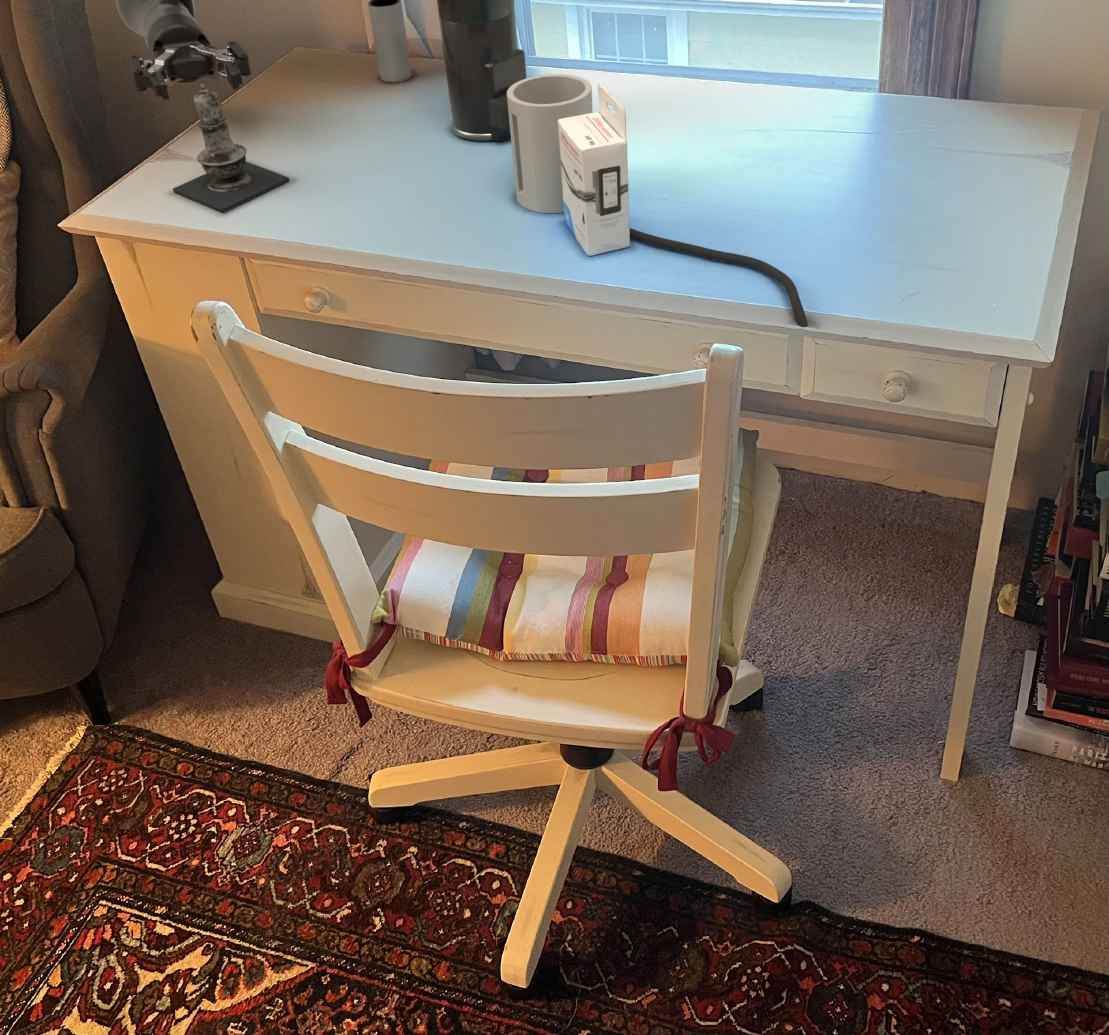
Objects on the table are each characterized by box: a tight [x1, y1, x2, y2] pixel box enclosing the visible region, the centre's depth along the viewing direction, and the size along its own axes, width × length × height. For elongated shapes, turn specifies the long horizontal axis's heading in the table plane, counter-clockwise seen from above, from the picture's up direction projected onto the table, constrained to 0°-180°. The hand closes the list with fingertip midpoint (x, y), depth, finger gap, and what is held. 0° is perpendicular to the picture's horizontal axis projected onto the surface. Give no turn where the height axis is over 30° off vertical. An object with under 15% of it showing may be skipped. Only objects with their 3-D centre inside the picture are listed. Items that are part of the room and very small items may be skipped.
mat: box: [172, 161, 290, 214], centre depth 132 cm, size 10×10×1 cm
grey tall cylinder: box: [367, 0, 413, 83], centre depth 153 cm, size 4×4×10 cm
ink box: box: [558, 82, 631, 257], centre depth 112 cm, size 8×5×15 cm, turn 18°
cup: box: [507, 73, 594, 214], centre depth 121 cm, size 9×9×12 cm
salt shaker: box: [193, 82, 252, 192], centre depth 128 cm, size 6×6×12 cm
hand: (200, 86), depth 133 cm, fingers open, 8 cm apart
